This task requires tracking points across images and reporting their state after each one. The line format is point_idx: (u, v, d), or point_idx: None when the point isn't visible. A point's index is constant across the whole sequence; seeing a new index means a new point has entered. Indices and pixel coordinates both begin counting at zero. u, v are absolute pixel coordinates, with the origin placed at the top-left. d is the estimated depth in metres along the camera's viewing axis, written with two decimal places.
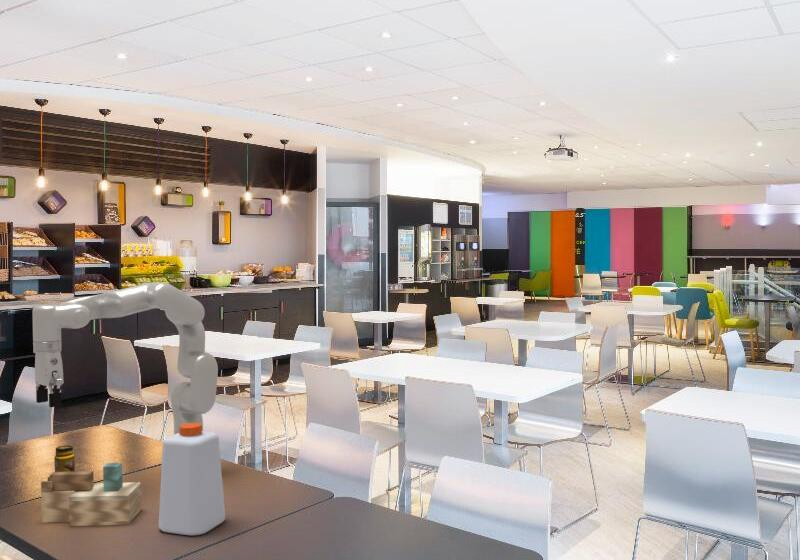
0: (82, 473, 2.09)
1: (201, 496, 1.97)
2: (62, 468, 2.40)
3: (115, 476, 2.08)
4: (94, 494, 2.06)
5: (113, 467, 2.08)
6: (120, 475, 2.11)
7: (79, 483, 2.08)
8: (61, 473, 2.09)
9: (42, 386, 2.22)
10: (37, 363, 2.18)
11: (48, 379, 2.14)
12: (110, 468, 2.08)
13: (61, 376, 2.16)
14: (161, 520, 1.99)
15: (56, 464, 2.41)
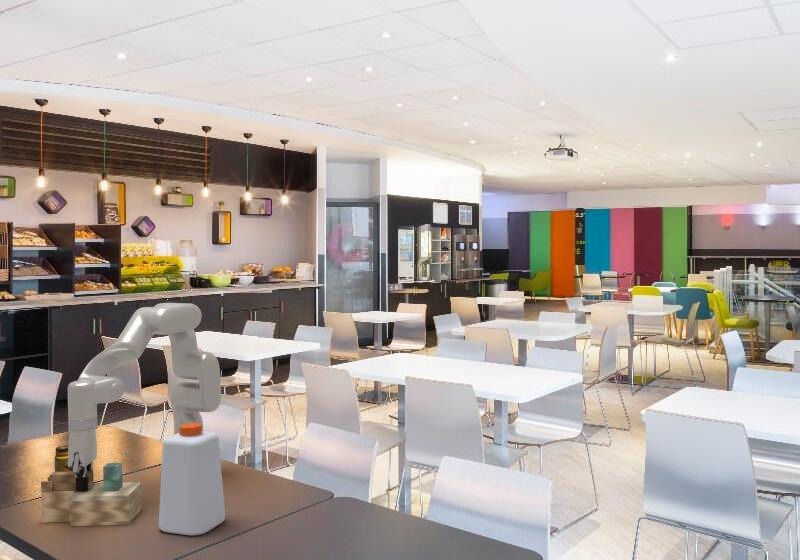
0: None
1: (201, 496, 1.97)
2: (62, 468, 2.40)
3: (115, 476, 2.08)
4: (94, 494, 2.06)
5: (113, 467, 2.08)
6: (120, 475, 2.11)
7: None
8: (61, 473, 2.09)
9: None
10: (90, 442, 2.08)
11: None
12: (110, 468, 2.08)
13: None
14: (161, 520, 1.99)
15: (56, 464, 2.41)
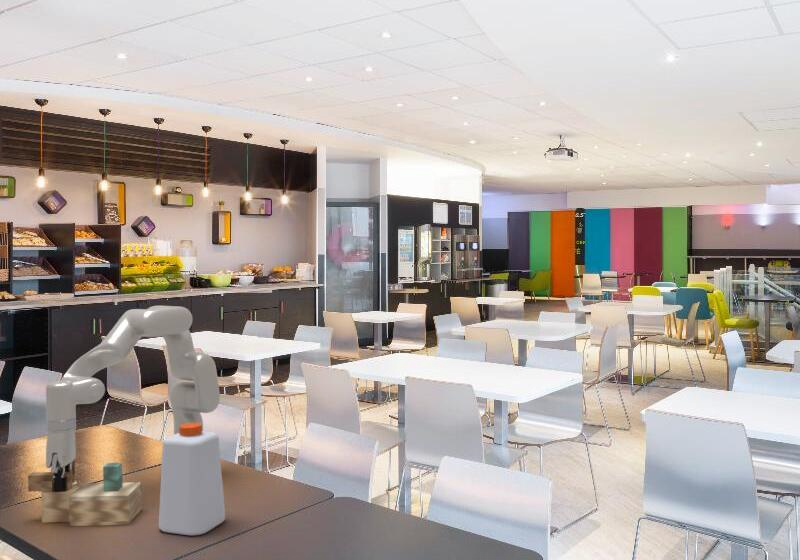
0: None
1: (201, 496, 1.97)
2: None
3: (115, 476, 2.08)
4: (94, 494, 2.06)
5: (113, 467, 2.08)
6: (120, 475, 2.11)
7: None
8: (39, 474, 2.09)
9: None
10: (69, 442, 2.08)
11: None
12: (110, 468, 2.08)
13: None
14: (161, 520, 1.99)
15: None
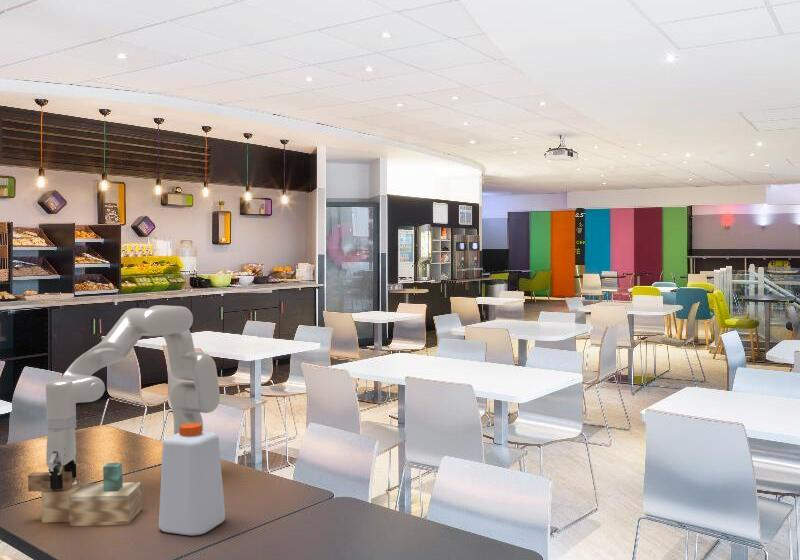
0: None
1: (201, 496, 1.97)
2: (62, 468, 2.40)
3: (115, 476, 2.08)
4: (94, 494, 2.06)
5: (113, 467, 2.08)
6: (120, 475, 2.11)
7: None
8: (39, 474, 2.09)
9: None
10: (69, 441, 2.08)
11: None
12: (110, 468, 2.08)
13: None
14: (161, 520, 1.99)
15: None
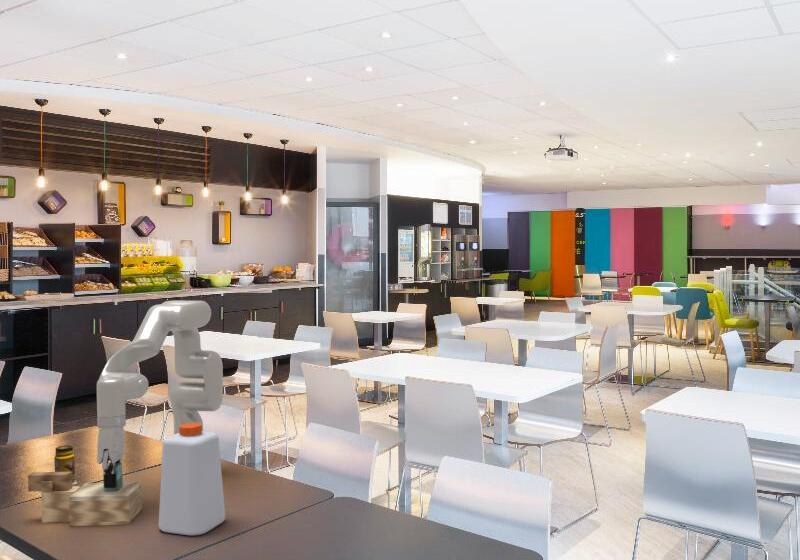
0: (60, 474, 2.09)
1: (201, 496, 1.97)
2: (62, 468, 2.40)
3: None
4: (94, 494, 2.06)
5: None
6: (120, 475, 2.11)
7: (57, 484, 2.08)
8: (39, 474, 2.09)
9: None
10: (119, 438, 2.09)
11: None
12: None
13: None
14: (161, 520, 1.99)
15: (56, 464, 2.41)
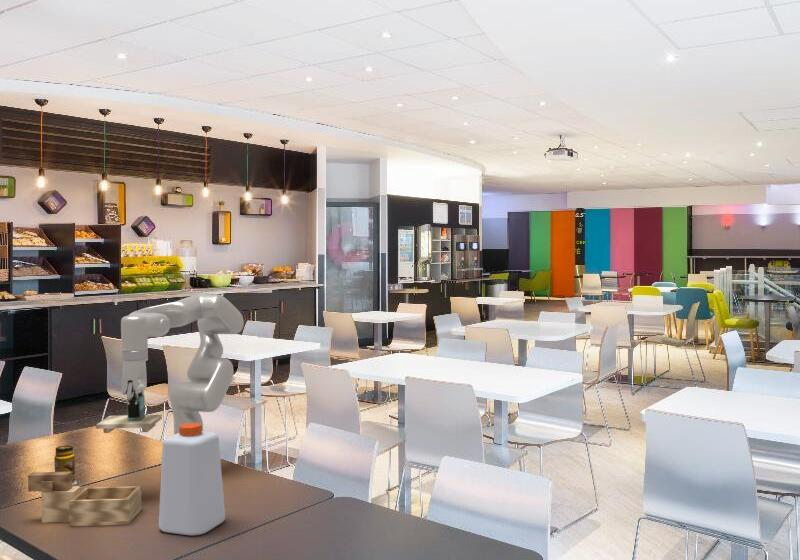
0: (60, 474, 2.09)
1: (201, 496, 1.97)
2: (62, 468, 2.40)
3: (139, 407, 2.24)
4: (119, 422, 2.21)
5: None
6: (143, 406, 2.26)
7: (57, 484, 2.08)
8: (39, 474, 2.09)
9: None
10: (142, 372, 2.24)
11: None
12: None
13: None
14: (161, 520, 1.99)
15: (56, 464, 2.41)
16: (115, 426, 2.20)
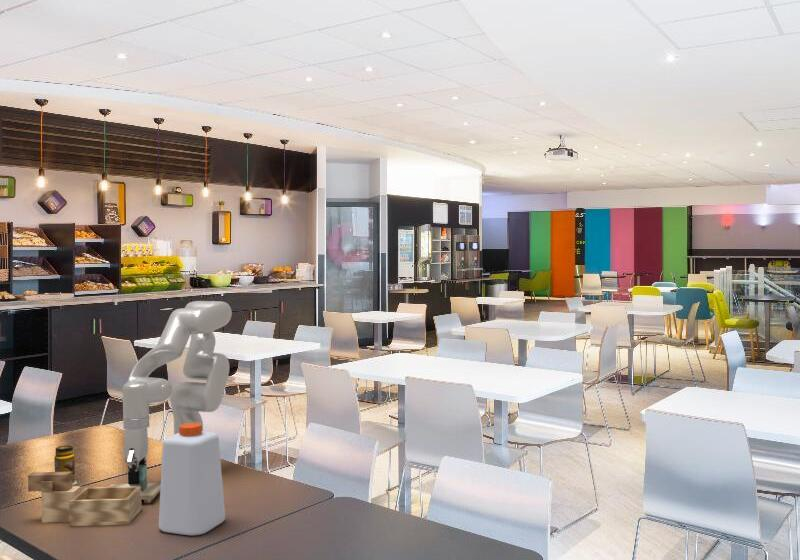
0: (60, 474, 2.09)
1: (201, 496, 1.97)
2: (62, 468, 2.40)
3: (141, 477, 2.25)
4: None
5: (138, 469, 2.25)
6: (145, 476, 2.27)
7: (57, 484, 2.08)
8: (39, 474, 2.09)
9: None
10: (143, 438, 2.25)
11: None
12: None
13: None
14: (161, 520, 1.99)
15: (56, 464, 2.41)
16: None
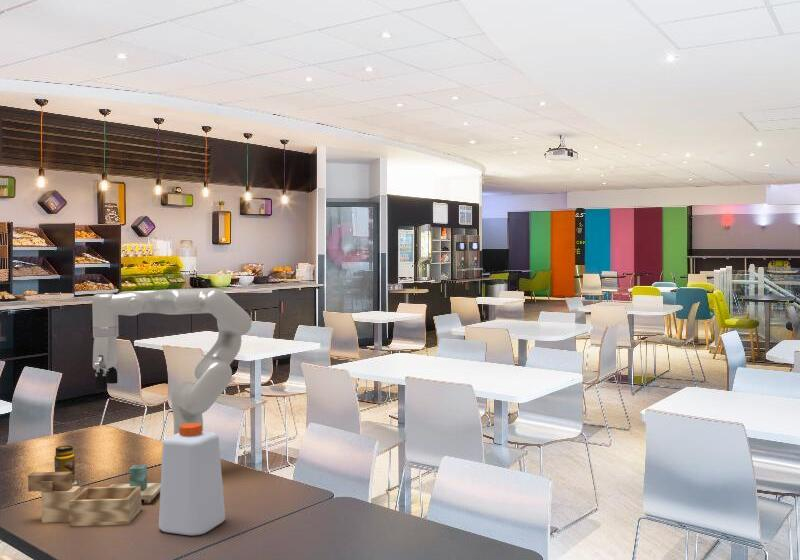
0: (60, 474, 2.09)
1: (201, 496, 1.97)
2: (62, 468, 2.40)
3: (141, 477, 2.25)
4: None
5: (138, 469, 2.25)
6: (145, 476, 2.27)
7: (57, 484, 2.08)
8: (39, 474, 2.09)
9: None
10: (112, 347, 2.33)
11: None
12: (136, 470, 2.25)
13: None
14: (161, 520, 1.99)
15: (56, 464, 2.41)
16: None
